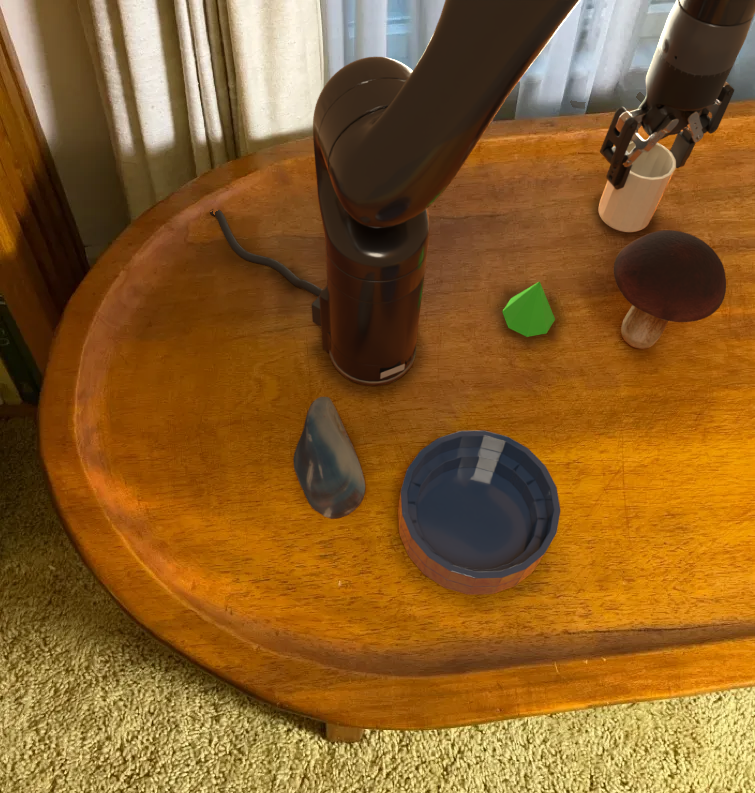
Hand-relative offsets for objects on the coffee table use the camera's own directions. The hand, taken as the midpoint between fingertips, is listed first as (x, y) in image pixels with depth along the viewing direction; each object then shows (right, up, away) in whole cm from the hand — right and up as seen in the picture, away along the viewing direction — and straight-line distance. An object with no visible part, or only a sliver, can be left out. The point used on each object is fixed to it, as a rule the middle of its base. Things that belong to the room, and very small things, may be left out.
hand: (645, 173), depth 88 cm
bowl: (-22, -38, -16) cm, 47 cm away
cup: (-1, -3, +6) cm, 7 cm away
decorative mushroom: (-3, -20, -4) cm, 20 cm away
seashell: (-35, -33, -13) cm, 50 cm away
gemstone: (-14, -17, -3) cm, 22 cm away
